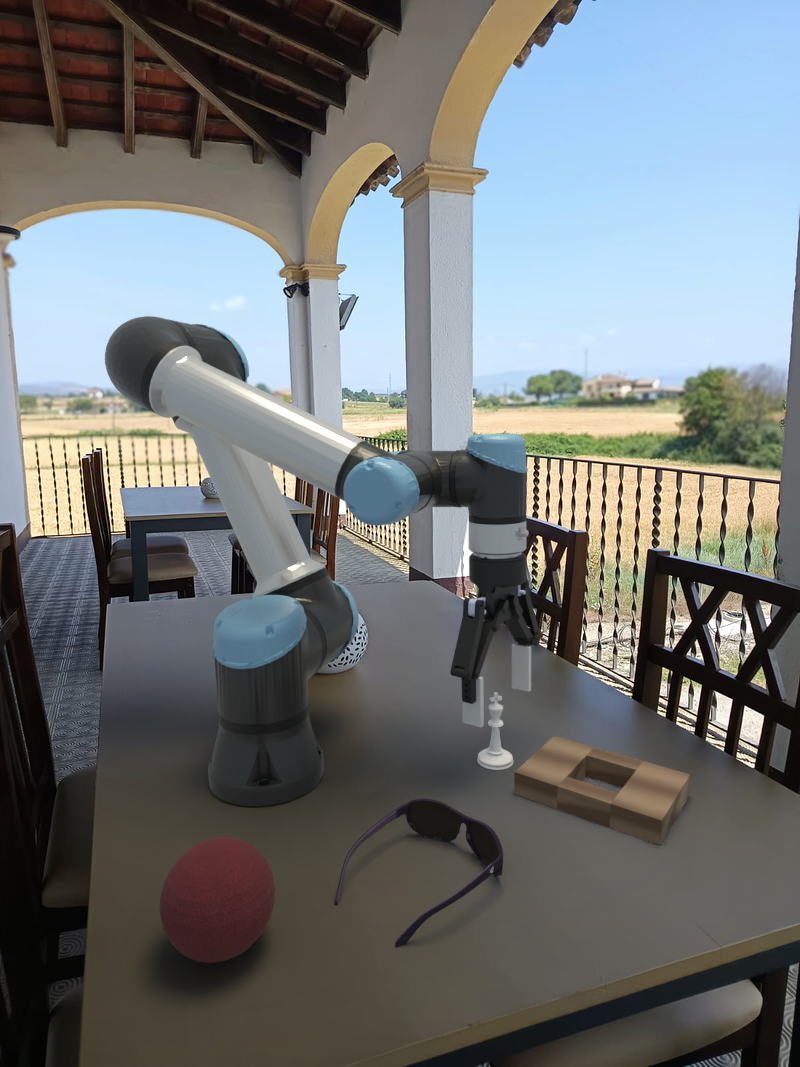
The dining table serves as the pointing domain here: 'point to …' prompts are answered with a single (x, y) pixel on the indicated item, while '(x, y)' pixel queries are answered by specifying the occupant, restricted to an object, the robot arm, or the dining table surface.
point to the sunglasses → (444, 825)
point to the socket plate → (634, 810)
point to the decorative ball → (217, 899)
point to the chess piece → (495, 741)
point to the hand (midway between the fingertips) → (498, 705)
